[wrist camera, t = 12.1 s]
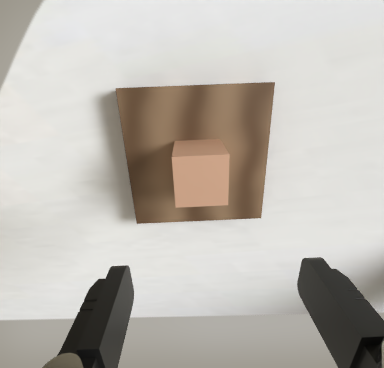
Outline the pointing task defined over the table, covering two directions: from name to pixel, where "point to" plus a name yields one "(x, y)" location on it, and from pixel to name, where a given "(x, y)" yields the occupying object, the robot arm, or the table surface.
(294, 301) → the table surface
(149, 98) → the walnut base
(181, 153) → the stacking block
